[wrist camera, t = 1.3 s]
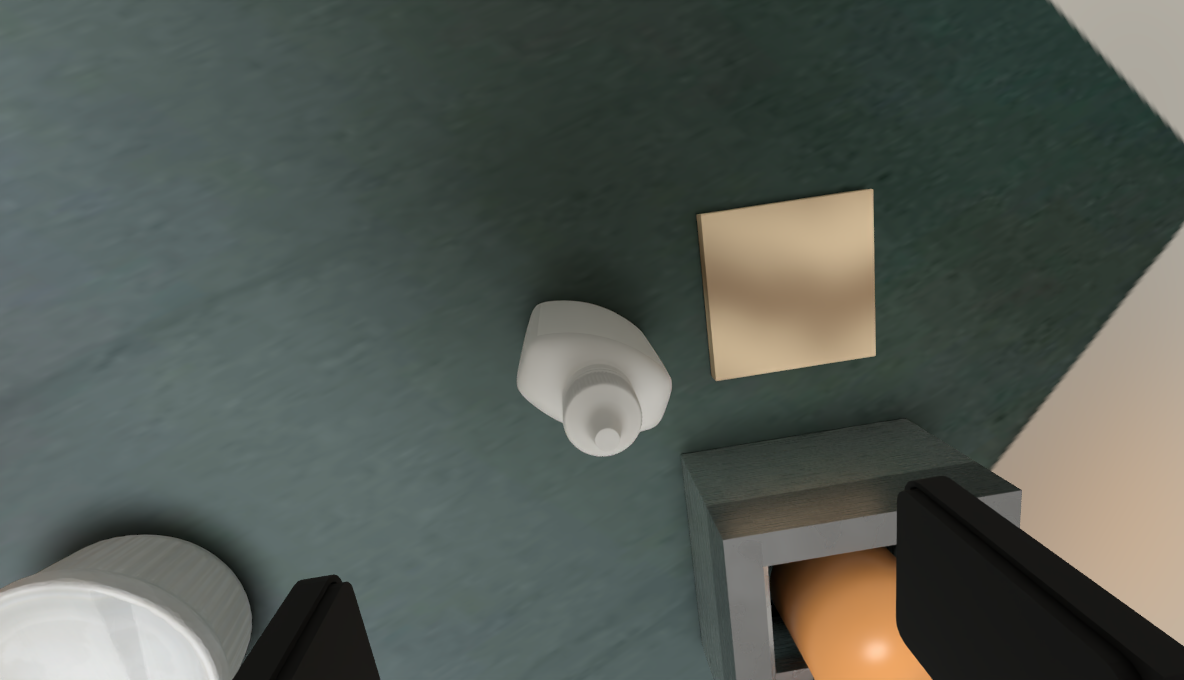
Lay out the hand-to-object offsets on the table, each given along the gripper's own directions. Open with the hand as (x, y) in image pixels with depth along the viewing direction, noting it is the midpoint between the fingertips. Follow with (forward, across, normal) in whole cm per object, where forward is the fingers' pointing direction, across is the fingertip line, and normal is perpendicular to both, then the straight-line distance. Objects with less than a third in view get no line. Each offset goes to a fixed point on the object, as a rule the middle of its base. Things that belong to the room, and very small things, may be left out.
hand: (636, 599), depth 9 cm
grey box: (+18, -10, +13) cm, 24 cm away
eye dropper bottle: (+18, 0, 0) cm, 18 cm away
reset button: (+14, -10, +13) cm, 22 cm away
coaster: (+18, -10, -1) cm, 21 cm away
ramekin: (+18, +24, +11) cm, 32 cm away
